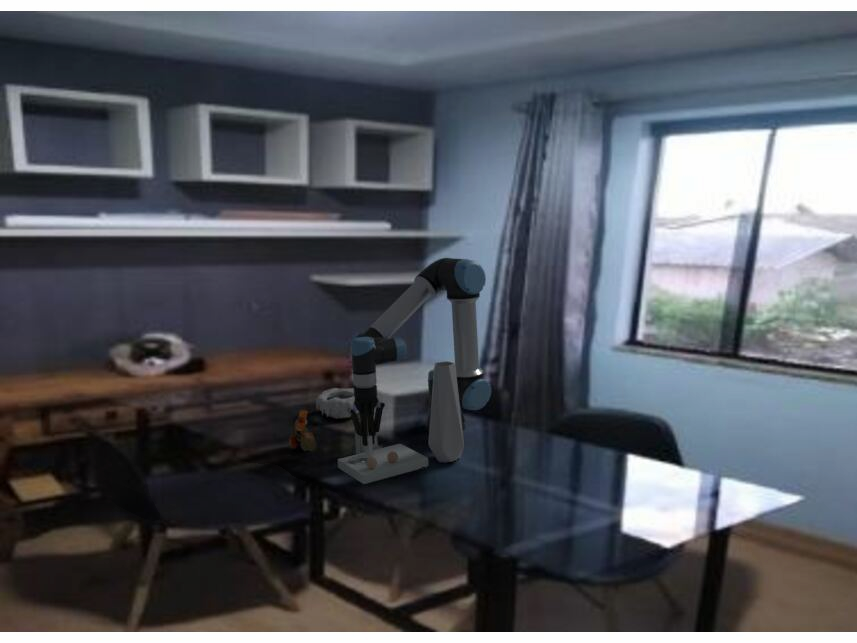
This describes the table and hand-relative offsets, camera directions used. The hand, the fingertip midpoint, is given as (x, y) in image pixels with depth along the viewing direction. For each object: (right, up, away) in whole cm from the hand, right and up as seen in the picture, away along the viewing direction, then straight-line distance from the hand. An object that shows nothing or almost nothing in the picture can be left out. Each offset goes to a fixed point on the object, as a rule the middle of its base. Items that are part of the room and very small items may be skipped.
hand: (369, 454), depth 257 cm
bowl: (-15, +5, +58) cm, 60 cm away
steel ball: (-3, -3, -1) cm, 4 cm away
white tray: (+5, -4, 0) cm, 6 cm away
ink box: (-2, -2, +14) cm, 14 cm away
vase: (+27, -3, +4) cm, 27 cm away
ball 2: (+8, 0, -5) cm, 9 cm away
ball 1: (+1, -1, -9) cm, 9 cm away
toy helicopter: (-24, -3, +17) cm, 29 cm away
